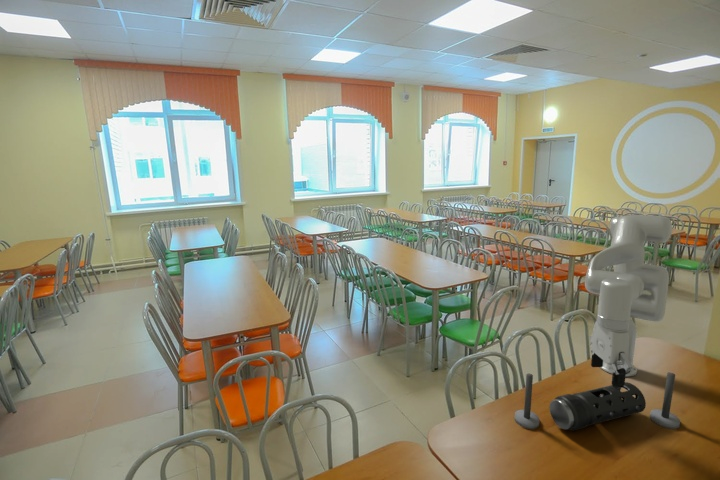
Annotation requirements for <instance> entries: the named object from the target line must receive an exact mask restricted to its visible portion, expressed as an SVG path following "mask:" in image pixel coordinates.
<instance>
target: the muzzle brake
mask: <svg viewBox="0 0 720 480" xmlns="http://www.w3.org/2000/svg"><path fill="white" fill-rule="evenodd" d="M622 388H623V389H625V390H626V391H621V390H622ZM634 396H635V397H634ZM646 404H647V402H646V399H645V396H644V394H643V392H642V391H641V390H640V389H639V388H638V387H637V386H636V385H634V384H632V383H631V382H626V381H625V384H624V386H613V385H612V384H610V385H607V386H603V387H598V388H594V389H593V388H592V389H588V390H585V391H580V392H576V393H573V394H572V393H566V394H563V395H557V396H556V397H555V398H554V399H552V400H551V401H550V403H549V414H550V415H551V418H552V420H553V422H554V424H555V425H556V426H557V427H559V428H560V429H563V430H569V431H576V430H581V429H583V428H586V427H587V426H591V425H595V424H600V423H603V422H607V421H612V420H615V419H619V418H622V417H627V416H631V415H634V414H639V413H642V412H643V411H644V410H645V409H646Z"/></svg>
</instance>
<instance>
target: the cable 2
mask: <svg viewBox="0 0 720 480" xmlns="http://www.w3.org/2000/svg"><path fill="white" fill-rule="evenodd" d="M675 379H676V374H675V373H674V372H667V374H666V381H665V385H664V386H665V387H664V388H665V389H664V396H663V400H662V408H661V409H660V408H659V409H657V408H654V409H651V410H650V413H649V414H650V415H649V418H650V420H651V421H652V422H653V423H654V424H656V425H658V426H660V427H663V428H666V429H671V430H676V429H678V428H680V425H681V420H680V418H679V417H678V416H677V415H675V414H674V413H672V412H671V407H672V400H673V393H674V388H675V387H674V385H675V381H676V380H675Z"/></svg>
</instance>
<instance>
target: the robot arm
mask: <svg viewBox="0 0 720 480" xmlns="http://www.w3.org/2000/svg"><path fill="white" fill-rule="evenodd" d="M609 232H610V235H611V237H612V238H611V242H610V246H609V247H607V248H604V249H602V250H601V251H600V252H598V253H596V254H595V255H594V256H593V257H592V258H591V260H590V261H589V264H588V267H587V270H586V273H585V278H584V287H585V289H586V291H587V292H589V294H593V295H599V297H598V306H597V315H596V316H597V317H596V320H595V323H594V326H593V329H592V333H591V335H590V336H589V340H590V353H591V362H590V366H591V367H592V368H600V369H601V370H602V371H604V372H606V373H608V374H611V375H612V377H611V385H613V386H624V384H625V382H626V377H634V376H636V375H637V373H638V369H637V367H636V366H635V365H633V364H634V363H633V362H634V355H635V350H636V349H635V348H636V339H637V333H638V330H637V326H636V323H635V322H634V321H633V319H637V320H642V321H647V322H648V321H649V322H658V323H659V322H661V321H662V320H663V319H664V317H665V313H666V308H667V299H668V289H669V283H670V282H669V281H670V279H669V278H670V275H669V271H668V270H667V268H666V267H664V266H661V265H657V264H648V263H645V256H646V255H645V254H646V251H645V248H644V246H645V242H652V243H661V244H663V243H667V242H669V240H670V238H671V237H672V232H673V224H672V221H671V220H670V218H669V217H666V216H663V215H648V214H647V215H645V214H643V215H641V214H627V215H623V216H622V215H621V216H615V217H613V218H611V219H610V222H609ZM612 266H614V269H613V271H611V270H610V271H609V270H603V269H605V268H607V267H612ZM644 291H646V292H647V291H648V292H649V293H650V294H649V293H643V292H644Z"/></svg>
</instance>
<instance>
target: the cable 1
mask: <svg viewBox="0 0 720 480" xmlns="http://www.w3.org/2000/svg"><path fill="white" fill-rule="evenodd" d="M525 376H526V378H525V392H524V393H525V394H524V407H523V409H519V410H516V411H515V413H514V421H515V423H516V424H517V425H519V427H521V426H522V428H524V429H528V430H536V429H537V428H538V427H539V426H540V418H539V416H538V415H537V414H536V413H535V412H533V411H531V410H532V394H533V379H534V375H533V374H532V373H526V375H525Z"/></svg>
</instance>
